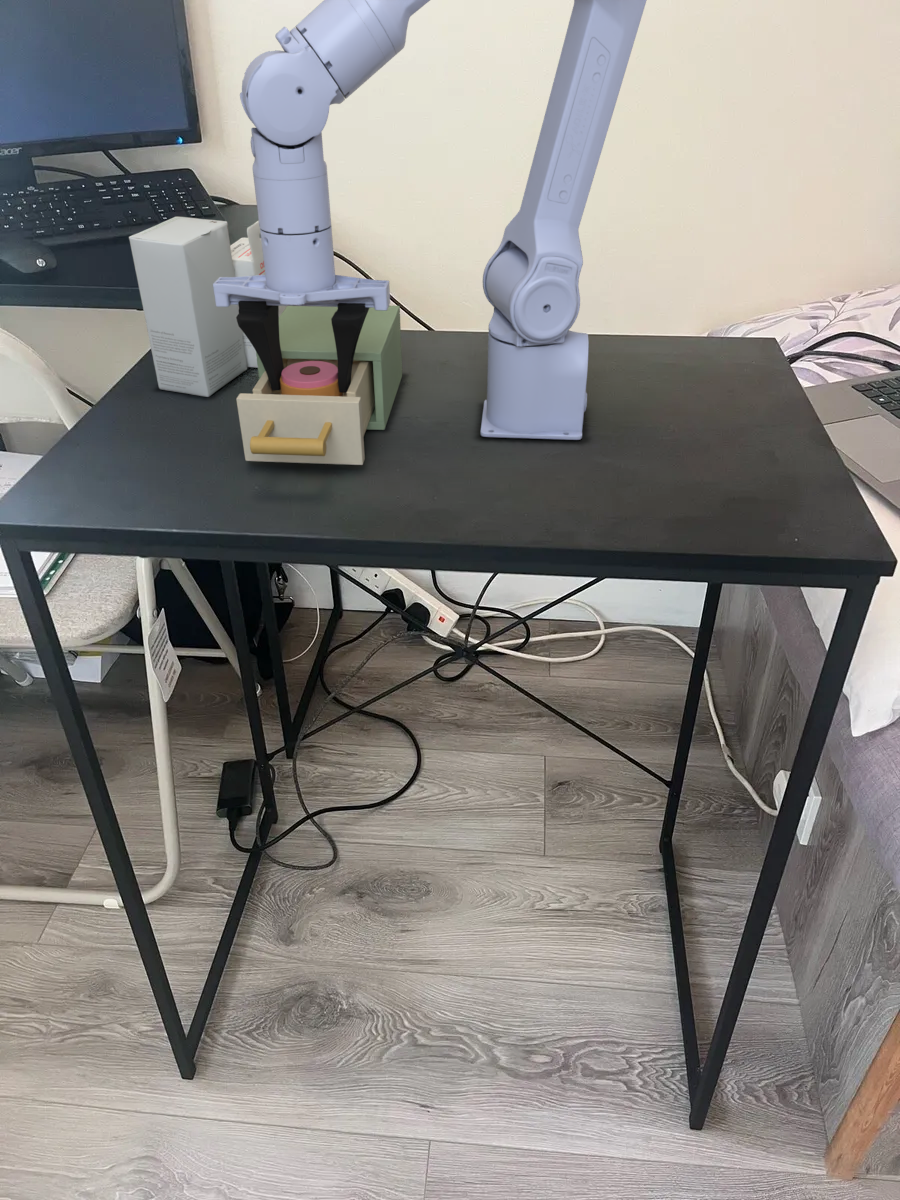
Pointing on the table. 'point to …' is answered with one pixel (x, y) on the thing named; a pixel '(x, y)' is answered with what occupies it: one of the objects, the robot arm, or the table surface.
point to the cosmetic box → (188, 304)
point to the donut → (310, 379)
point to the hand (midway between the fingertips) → (311, 387)
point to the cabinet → (378, 341)
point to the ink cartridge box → (249, 273)
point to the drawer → (308, 421)
